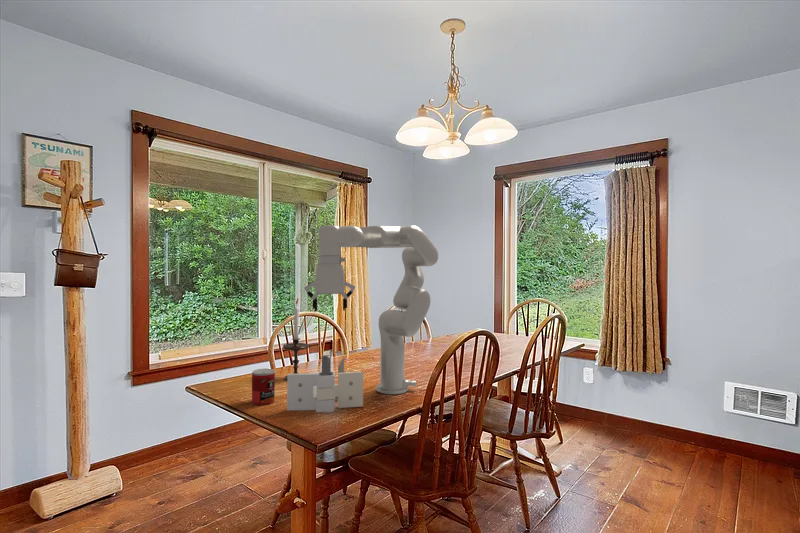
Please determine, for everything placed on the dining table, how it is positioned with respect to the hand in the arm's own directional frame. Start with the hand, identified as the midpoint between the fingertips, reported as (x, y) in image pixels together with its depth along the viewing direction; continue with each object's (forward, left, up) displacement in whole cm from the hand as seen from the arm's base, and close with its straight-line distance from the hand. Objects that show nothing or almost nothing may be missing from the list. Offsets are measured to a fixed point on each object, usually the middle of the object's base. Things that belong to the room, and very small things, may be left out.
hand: (330, 310), depth 147 cm
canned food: (+23, -6, -33) cm, 41 cm away
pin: (+1, +3, -33) cm, 33 cm away
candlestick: (+16, -37, -33) cm, 52 cm away
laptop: (+2, -15, -34) cm, 37 cm away
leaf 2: (-4, +2, -33) cm, 33 cm away
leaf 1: (+6, +3, -33) cm, 34 cm away
